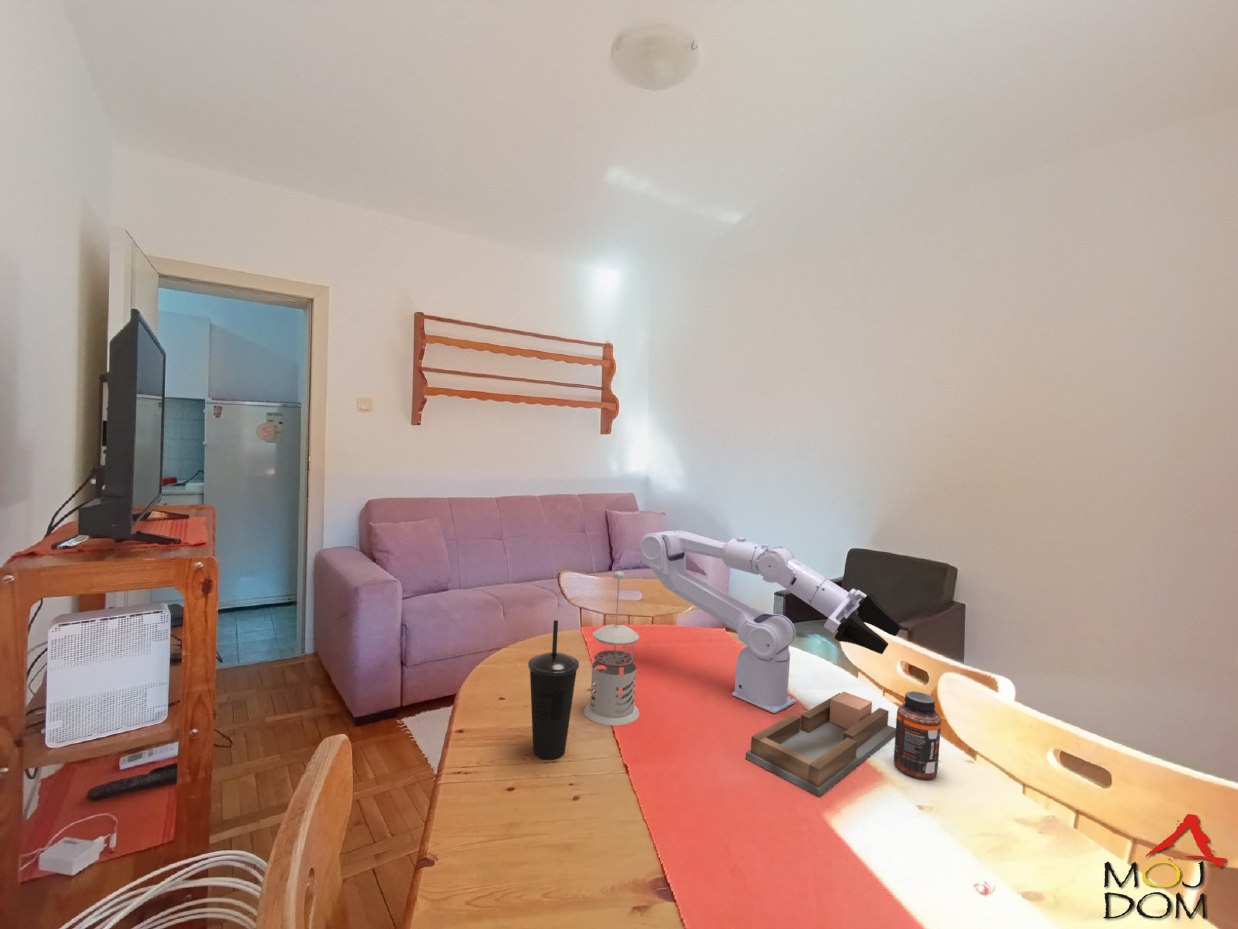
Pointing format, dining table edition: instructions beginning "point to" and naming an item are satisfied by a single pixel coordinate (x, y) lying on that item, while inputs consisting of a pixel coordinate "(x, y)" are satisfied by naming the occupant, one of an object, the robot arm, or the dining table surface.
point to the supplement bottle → (917, 736)
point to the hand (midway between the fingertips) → (892, 640)
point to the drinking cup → (551, 699)
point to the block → (848, 709)
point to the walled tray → (818, 747)
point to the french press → (613, 676)
